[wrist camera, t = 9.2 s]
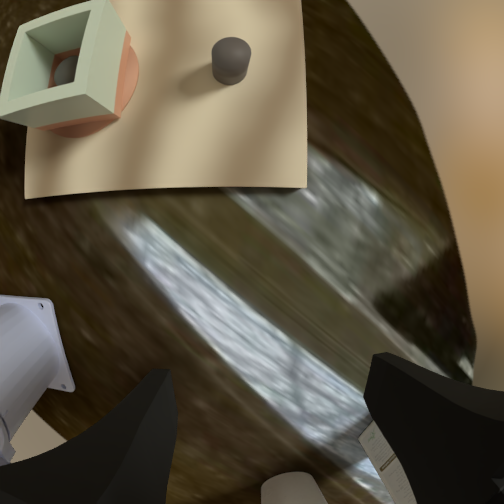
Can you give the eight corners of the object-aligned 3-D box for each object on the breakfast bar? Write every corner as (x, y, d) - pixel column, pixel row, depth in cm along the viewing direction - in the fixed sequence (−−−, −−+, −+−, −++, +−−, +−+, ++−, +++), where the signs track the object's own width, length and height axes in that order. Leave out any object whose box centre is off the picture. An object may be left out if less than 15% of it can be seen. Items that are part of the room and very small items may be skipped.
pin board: (32, 198, 16) (2, 201, 12) (56, 22, 13) (37, 3, 9) (302, 188, 18) (321, 187, 14) (297, 1, 15) (310, -26, 11)
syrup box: (355, 439, 23) (416, 552, 9) (392, 394, 22) (480, 504, 8) (391, 443, 24) (452, 536, 10) (426, 402, 23) (504, 491, 9)
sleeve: (43, 130, 14) (-4, 117, 9) (56, 54, 13) (19, 26, 8) (120, 118, 14) (85, 93, 10) (131, 37, 13) (107, -4, 8)
